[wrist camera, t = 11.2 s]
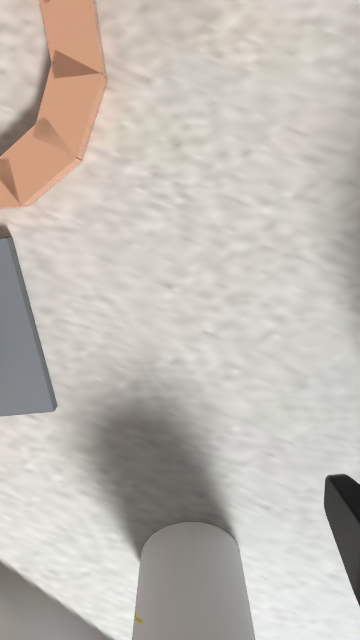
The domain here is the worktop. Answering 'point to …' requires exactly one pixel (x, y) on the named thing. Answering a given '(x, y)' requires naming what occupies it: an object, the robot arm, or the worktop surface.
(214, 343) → the worktop surface
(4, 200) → the faceted pink ring
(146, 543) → the cup
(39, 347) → the mat
